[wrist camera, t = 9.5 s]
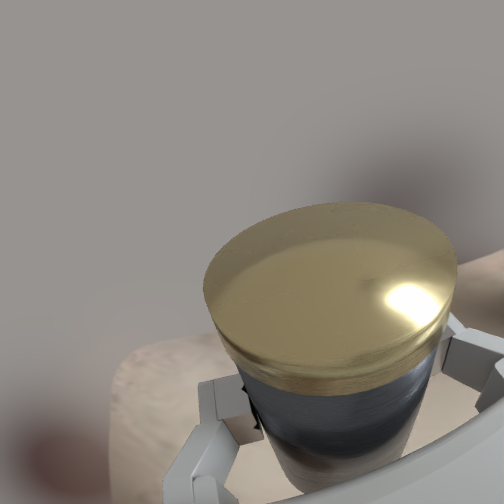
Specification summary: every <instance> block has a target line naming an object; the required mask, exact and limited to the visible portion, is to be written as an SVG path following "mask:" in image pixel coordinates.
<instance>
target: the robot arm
mask: <svg viewBox="0 0 504 504" xmlns="http://www.w3.org/2000/svg"><path fill="white" fill-rule="evenodd" d="M440 372H442V373H444V374H446V375H448V376H450V377H451V378H453V379H455V380H457V381H459V382H461V383H463V384H465V385H467V386H469V387H471V388H473V389H475V390H477V391H479V392H481V394H480V396H479V398H478V400H477V401H476V404H475V407H476V409H477V410H478V412H479V414H478V415H476V416H475V417H473V418H472V419H470V420H469V421H467V422H466V423H464V424H462V425H461V426H459V427H458V428H456V429H454V430H453V431H451V432H449V433H447V434H446V435H444V436H442V437H441V438H439V439H437V440H435V441H433V442H432V443H430V444H428V445H426V446H424V447H422V448H420V449H418V450H416V451H414V452H412V453H410V454H408V455H406V456H404V457H402V458H400V459H398V460H396V461H393V462H391V463H389V464H387V465H384V466H382V467H380V468H377V469H375V470H373V471H370V472H368V473H365V474H363V475H360V476H358V477H355V478H352V479H350V480H347V481H344V482H341V483H338V484H335V485H332V486H329V487H326V488H323V489H320V490H317V491H314V492H310V493H307V494H303V495H300V496H296V497H292V498H288V499H284V500H280V501H276V502H272V503H267V504H504V338H501V337H497V336H494V335H491V334H488V333H485V332H482V331H479V330H476V329H473V328H470V327H469V328H467V329H466V328H465V327H464V326H463V325H462V324H461V323H460V322H459V320H458V319H457V318H456V317H455V316H454V315H453V314H452V313H451V312H450V315H449V319H448V323H447V326H446V329H445V332H444V334H443V336H442V337H441V339H440V341H439V345H438V349H437V353H436V356H435V360H434V364H433V367H432V371H431V374H430V377H431V376H433V375H435V374H438V373H440ZM198 398H199V412H200V425H196V426H195V428H194V430H193V431H192V433H191V435H190V436H189V438H188V440H187V441H186V443H185V445H184V446H183V448H182V450H181V451H180V453H179V454H178V456H177V458H176V459H175V461H174V462H173V464H172V466H171V467H170V469H169V471H168V472H167V474H166V475H165V477H164V478H163V504H239V502H238V499H237V498H236V497H235V496H233V495H232V494H231V493H230V492H229V491H228V490H227V489H226V488H225V487H224V483H225V481H226V479H227V476H228V474H229V472H230V469H231V467H232V465H233V462H234V460H235V457H236V455H237V453H238V450H239V448H240V447H239V446H240V445H244V444H248V443H252V442H256V441H260V440H263V439H264V436H263V431H262V427H261V423H260V420H259V418H258V416H257V413H256V410H255V408H254V406H253V404H252V401H251V399H250V397H249V394H248V392H247V390H246V387H245V385H244V383H243V380H242V378H241V376H240V374H236V375H232V376H227V377H223V378H218V379H214V380H210V381H205V382H200V383H199V384H198Z"/></svg>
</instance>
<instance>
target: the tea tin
mask: <svg viewBox="0 0 504 504" xmlns="http://www.w3.org/2000/svg"><path fill="white" fill-rule="evenodd" d="M456 277H457V258H456V254H455V251H454V249H453V246H452V244H451V243H450V241H449V240H448V238H447V237H446V235H445V234H444V233H443V232H442V231H441V230H440V229H439V228H437V227H436V226H435V225H434V224H432V223H431V222H429V221H427V220H426V219H424V218H422V217H421V216H419V215H416V214H414V213H411V212H409V211H406V210H403V209H400V208H396V207H392V206H388V205H382V204H374V203H365V202H339V203H327V204H319V205H313V206H307V207H303V208H299V209H294V210H291V211H288V212H285V213H281V214H278V215H276V216H273V217H270V218H268V219H266V220H263V221H261V222H259V223H257V224H255V225H253V226H251V227H249V228H248V229H246V230H244V231H243V232H241V233H239V234H238V235H237V236H235V237H234V238H233V239H231V240H230V241H229V242H228V243H227V244H226V245H225V246H223V247H222V248H221V250H220V251H219V252H218V253H217V254H216V255H215V257H214V258H213V260H212V261H211V263H210V265H209V267H208V269H207V271H206V274H205V278H204V283H203V285H204V286H203V292H204V297H205V301H206V304H207V307H208V309H209V312H210V314H211V316H212V319H213V321H214V324H215V326H216V329H217V331H218V334H219V336H220V339H221V341H222V343H223V345H224V348H225V350H226V352H227V353H228V354H229V356H230V357H231V358H232V360H233V361H234V362H235V364H236V366H237V369H238V371H239V373H240V376H241V378H242V380H243V383H244V385H245V387H246V390H247V392H248V394H249V397H250V399H251V401H252V404H253V406H254V408H255V410H256V413H257V415H258V417H259V419H260V422H261V424H262V426H263V428H264V431H265V433H266V435H267V437H268V439H269V441H270V444H271V446H272V448H273V450H274V452H275V454H276V456H277V459H278V461H279V463H280V465H281V467H282V469H283V471H284V473H285V475H286V477H287V478H288V480H289V481H290V482H291V483H292V484H293V485H294V486H295V487H296V488H297V489H298V490H300V491H301V492H303V493H304V494H307V493H310V492H314V491H317V490H320V489H323V488H326V487H329V486H332V485H335V484H338V483H341V482H344V481H347V480H350V479H352V478H355V477H358V476H360V475H363V474H365V473H368V472H370V471H373V470H375V469H377V468H380V467H382V466H384V465H387V464H389V463H391V462H393V461H396V460H398V459H400V457H401V455H402V453H403V450H404V448H405V446H406V443H407V441H408V438H409V436H410V433H411V431H412V428H413V425H414V423H415V420H416V417H417V414H418V412H419V409H420V406H421V403H422V400H423V397H424V394H425V391H426V388H427V384H428V381H429V378H430V374H431V371H432V367H433V364H434V360H435V356H436V353H437V349H438V345H439V341H440V339H441V337H442V336H443V334H444V332H445V329H446V326H447V323H448V319H449V315H450V310H451V305H452V300H453V295H454V289H455V283H456Z"/></svg>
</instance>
